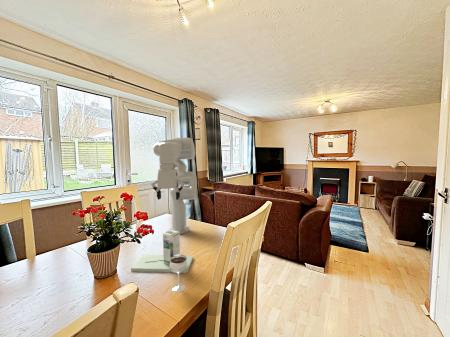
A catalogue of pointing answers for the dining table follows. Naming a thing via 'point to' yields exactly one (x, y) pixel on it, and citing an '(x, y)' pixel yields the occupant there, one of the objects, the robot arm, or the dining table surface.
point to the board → (156, 264)
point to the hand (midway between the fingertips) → (168, 199)
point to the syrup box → (170, 245)
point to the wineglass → (178, 269)
